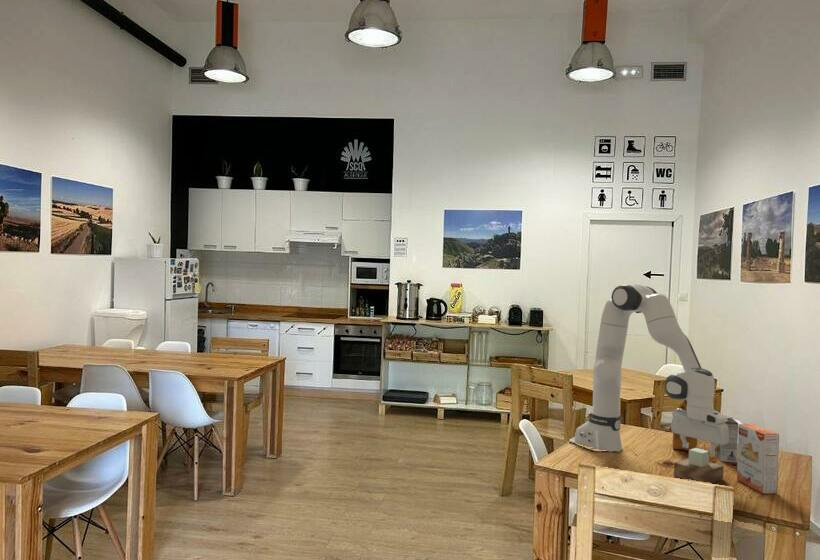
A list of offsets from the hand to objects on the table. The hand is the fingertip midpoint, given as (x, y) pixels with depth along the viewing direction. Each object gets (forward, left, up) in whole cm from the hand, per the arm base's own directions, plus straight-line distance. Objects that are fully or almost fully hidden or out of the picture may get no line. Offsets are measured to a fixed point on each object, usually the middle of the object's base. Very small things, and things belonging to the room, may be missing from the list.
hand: (698, 450), depth 219 cm
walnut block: (0, 0, -10) cm, 10 cm away
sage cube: (0, 0, -5) cm, 5 cm away
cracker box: (+17, +9, -10) cm, 21 cm away
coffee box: (-6, +33, -10) cm, 35 cm away
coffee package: (-23, +33, -10) cm, 42 cm away
